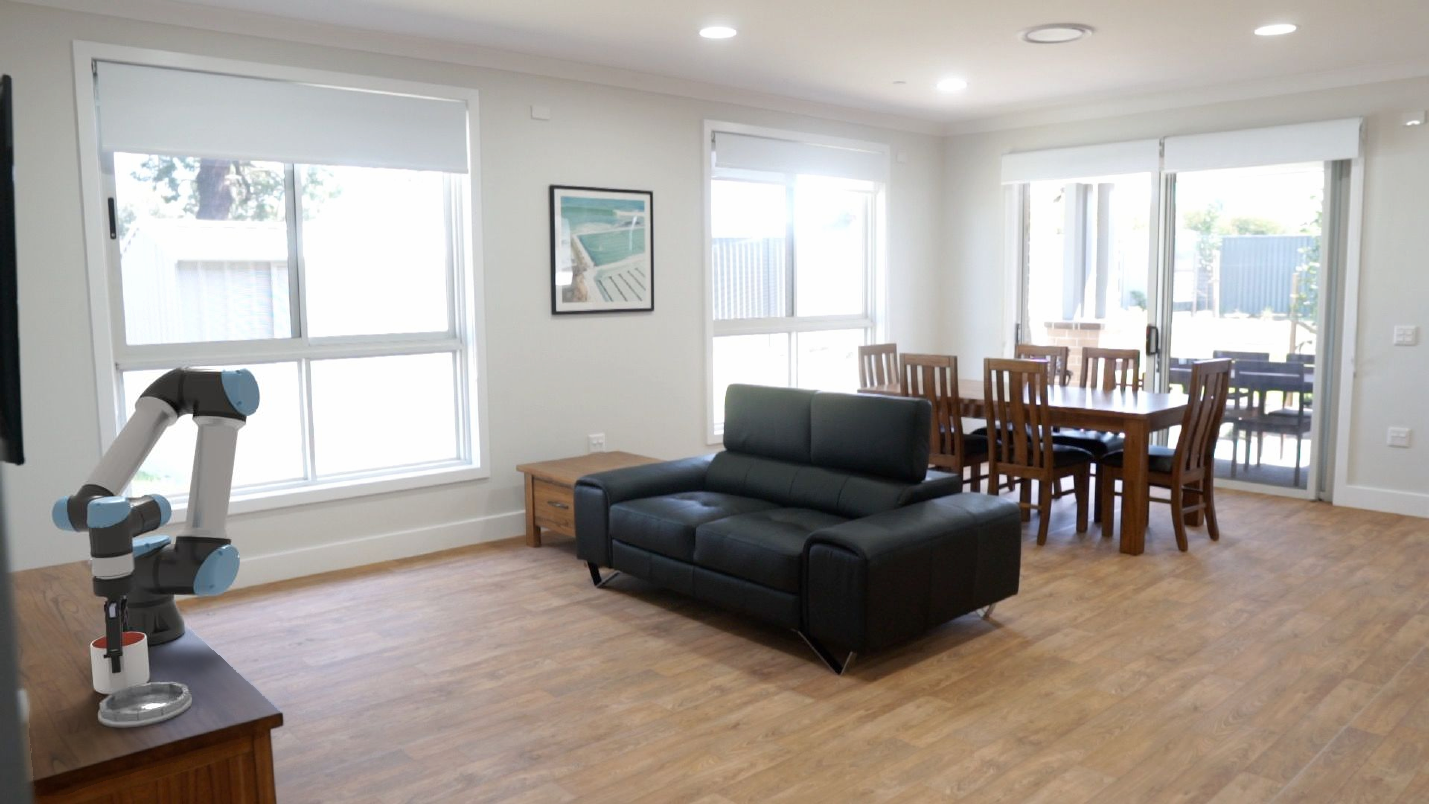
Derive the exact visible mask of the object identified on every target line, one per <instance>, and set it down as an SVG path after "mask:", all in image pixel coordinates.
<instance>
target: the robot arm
mask: <svg viewBox="0 0 1429 804" xmlns="http://www.w3.org/2000/svg"><path fill="white" fill-rule="evenodd" d="M260 398H261V393H260V388H259V385H258V382H257V380H256V378H255V376H254V374H253V373H252V372H251V371H250V370H249V369H248V368H245V367H243V366H233V365H208V366H207V365H182V366H178V367H176V368H174V369H171V370H169V371H167V372H166V373H164V374H162V375H161V376H160V377H158V378H157V379H155V380H154V381H153V382H152V383H150V385H148V386H147V388H145V389H144V391H143V392H141V394H140V395H139V396H138V399H137V400H136V401H135V403H134V409H135V411H134V413H132V415H131V417H130V418H129V419H128V420H127V422H126V424H124V426H123V428H122V429H121V430H120V432H119V433H118V435H117V436H116V438H115V439H114V440H113V442H112V443H111V445H110V446H109V447H108V449H107V451H106V452H105V453H104V455H103V456H102V458H101V459H100V461H99V462H98V463H97V465H96V466H95V467H94V469H93V470H92V472H91V473H90V474H89V476H88V477H87V479H86V480H85V482H84V483H83V485H82V486H81V488H79V490H78V492H77V493H76V494H75V495H73V494H71V495H66V496H62V497H60V498H59V499H57V500H56V501H55V503H54V504H53V506H52V512H51V519H52V522H53V524H54V525H55V527H56V528H58V529H59V530H61V531H65V532H75V533H81V532H82V533H85V532H86V533H88V539H89V546H90V559H89V560H88V561H87V564H88V565H92V566H91V574H92V575H93V577H92V580H91V581H92V591H93V592H92V593H93V595H94V596H96V597H98V598H106V599H107V600H105V603H104V604H103V611H104V619H105V620H104V621H105V636H106V650H107V653H106V654H104V655H103V657H104V658H108V666H109V679H110V689H111V688H118V687H124V686H126V676H125V662H124V654H123V632H140V633H143V634H145V635H146V636H147V647H148V646H154V645H158V644H163V643H164V644H165V643H166V642H170V641H173V640H174V639H177V638H179V637H181V636H182V635H184V633H185V631H186V627H185V620H184V617H183V616H182V613H181V611H180V609H179V607H178V604H177V603H176V601H175V596H192V597H194V596H195V597H207V596H208V597H209V596H212V597H214V596H215V597H216V596H219V595H222V594H224V593H225V592H227V591H228V590H229V589H230V587H231V586H232V585H233V584H234V582H235V581H236V578H237V576H238V572H239V570H240V563H241V558H240V556H239V554H240V553H239V550H238V549H237V548H236V547H235V546H233V545H232V537H231V536H230V534H229V533H228V532H227V531H226V530H227V529H226V528H227V521H228V520H227V519H228V516H229V515H228V514H229V506H230V498H231V489H232V482H233V481H232V480H233V474H234V465H235V460H236V459H235V457H236V450H237V442H238V433H239V431H240V429H242V428H243V427H244V426H246V424H247V418H248V417H249V416H252V415H253V414H255V413H256V412H257V410H258V408H259V407H260V401H261V399H260ZM185 415H192V417H191V420H192V422H194V423H195V425H196V426H197V434H196V442H195V447H194V455H193V456H194V457H193V464H192V465H193V466H192V471H191V479H190V486H189V487H190V488H189V495H188V499H187V501H188V502H187V510H186V517H185V522H184V523H185V524H184V528H183V530H181V531H180V532H179V533H177V534H176V536H175V543H171V542H172V539H171V536H169V535H165V534H163V535H162V534H161V535H153V536H147V537H142V538H137V539H134V538H136V537H139V536H141V535H142V536H143V535H145V534H147V533H150V532H154V531H157V530H158V529H160V528H161V527H164V526H166V525H167V524H168V523H169V521H170V519H171V517H172V513H173V512H172V511H173V510H172V506H171V504H170V502H169V500H168V499H167V498H166V497H165V496H163V495H161V494H160V493H159V494H158V493H151V494H144V495H141V496H139V497H134V496H133V497H128V496H126V497H125V496H122V495H123V494H124V493H125V491H126V489H127V487H128V486H129V484H130V483H131V482H132V480H133V479H134V477H135V476H136V474H137V473H138V471H139V470H140V468H141V467H142V465H143V464H144V462H145V461H146V459H147V458H148V456H149V455H150V453H151V452H152V450H153V449H154V447H155V446H156V445H157V443H158V442H159V440H160V439H161V437H162V435H164V432H165V431H166V430H167V428H168V427H171V426H174V425H175V424H176V422H177V421H178V420H179V419H180V418H181V417H182V416H185ZM133 539H134V540H133ZM116 649H117V650H116ZM111 650H116V651H111Z"/></svg>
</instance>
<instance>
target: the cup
mask: <svg viewBox="0 0 1429 804" xmlns="http://www.w3.org/2000/svg"><path fill="white" fill-rule="evenodd" d="M89 647H90V658H91V659H90V660H91V671H92V684H93V685H92V686H93V688H94V690H95V691H96V692H98V693H99V694H103V695H110V694H112V693H115V692H118V691H120V690H123V689H125V688H128V687H131V686H136V685H141V684H146V683H149V682H148V681H149V679H150V665H149V649H148V646H147V636H146V635H145V634H143V633H140V632H123V654H124V662H125V676H126V686H124V687H118V688H111V689H110V679H109V666H108V658H104V657H103V655H104V654H106V653H107V650H106V635H104V636H101V637H99V638H96V639H95V640H93V641H92V642H91V643H90V645H89ZM116 650H117V649H116ZM116 650H111V651H116Z"/></svg>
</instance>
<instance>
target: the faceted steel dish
mask: <svg viewBox="0 0 1429 804" xmlns="http://www.w3.org/2000/svg"><path fill="white" fill-rule="evenodd" d="M190 692H191V691H190V690H189V687H188V686H187V684H183V683H180V682H175V681H155V682H154V681H153V682H152V681H151V682H147V683H146V684H141V685H136V686H131V687H128V688H125V689H123V690H120V691H118V692H115V693H112V694H108V695H107V696H106V697H105V698H103V700H101V701H100V702H99V710H98V712H97V719H98V722H99V723H100V724H101V725H103V726H105V727H110V728H117V729H118V728H119V729H120V728H121V729H123V728H124V729H125V728H126V729H129V728H138V727H144V726H145V727H146V726H150V725H153V724H158V723H161V722H165V721H168V720H171V719H173V718H175V717H177V716H179V715H181V714H183V713H185V712H186V711H188V709H190V707H191V706H192V703H193V698H192V694H191V693H190Z"/></svg>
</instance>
